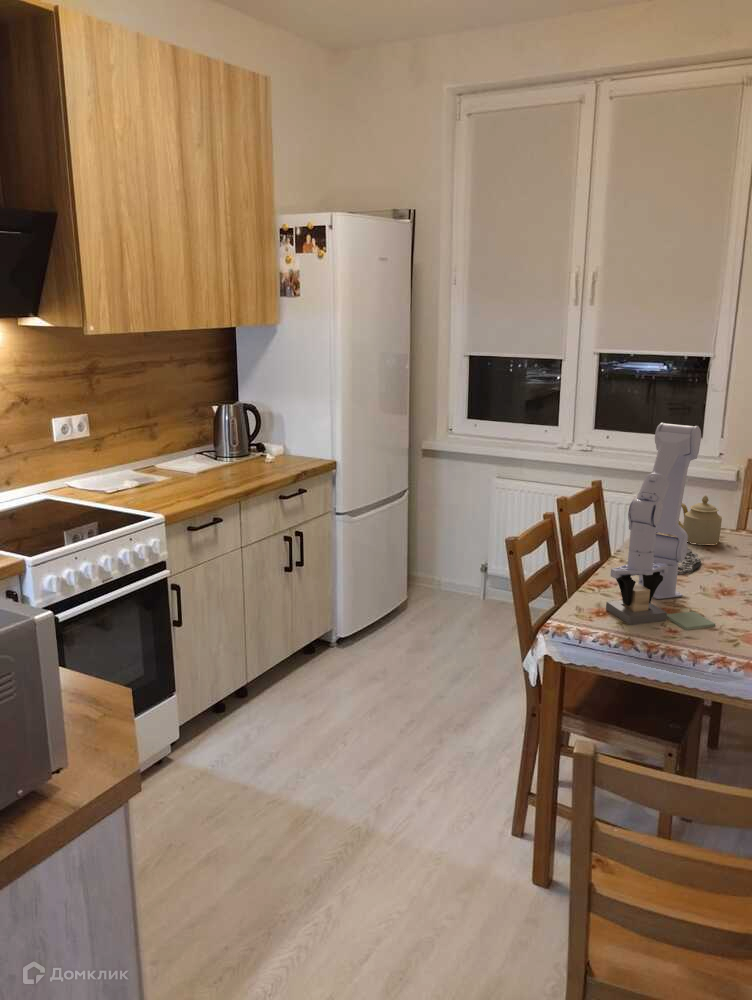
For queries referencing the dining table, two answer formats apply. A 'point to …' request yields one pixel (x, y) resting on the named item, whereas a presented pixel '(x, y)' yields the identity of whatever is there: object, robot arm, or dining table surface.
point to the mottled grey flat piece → (689, 563)
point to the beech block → (639, 599)
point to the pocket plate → (636, 613)
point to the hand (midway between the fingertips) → (636, 603)
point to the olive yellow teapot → (702, 523)
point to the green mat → (690, 620)
